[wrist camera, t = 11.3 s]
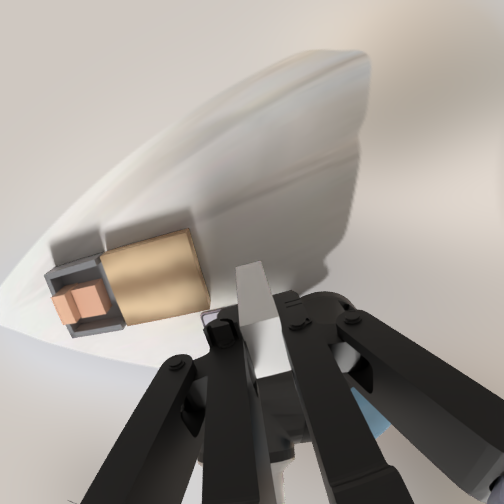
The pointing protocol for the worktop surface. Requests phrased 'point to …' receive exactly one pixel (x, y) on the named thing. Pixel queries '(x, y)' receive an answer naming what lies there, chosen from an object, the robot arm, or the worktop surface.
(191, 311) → the board
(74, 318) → the tile
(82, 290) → the tile
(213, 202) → the worktop surface
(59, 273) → the tray
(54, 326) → the worktop surface
